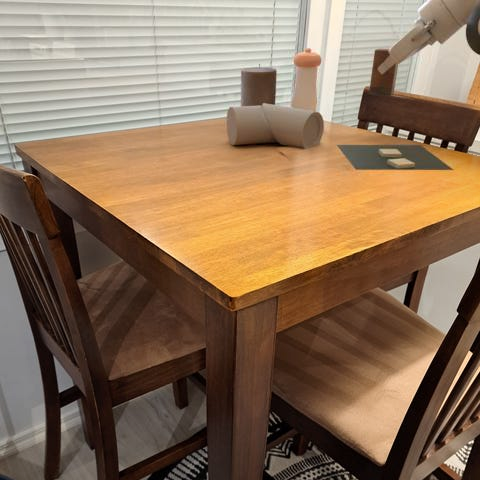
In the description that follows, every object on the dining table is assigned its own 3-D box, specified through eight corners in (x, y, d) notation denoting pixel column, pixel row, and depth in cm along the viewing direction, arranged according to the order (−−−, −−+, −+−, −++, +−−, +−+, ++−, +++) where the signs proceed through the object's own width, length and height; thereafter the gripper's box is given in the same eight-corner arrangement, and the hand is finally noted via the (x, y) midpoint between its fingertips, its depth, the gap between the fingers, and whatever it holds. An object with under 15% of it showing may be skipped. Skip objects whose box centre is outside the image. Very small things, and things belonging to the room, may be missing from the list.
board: (419, 149, 117) (420, 145, 117) (452, 174, 100) (454, 169, 100) (336, 149, 117) (336, 144, 116) (355, 174, 100) (355, 169, 99)
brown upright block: (393, 93, 116) (400, 49, 111) (390, 95, 112) (397, 50, 108) (372, 91, 117) (378, 48, 112) (368, 94, 114) (374, 49, 109)
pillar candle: (280, 122, 141) (283, 63, 133) (263, 128, 134) (265, 66, 126) (251, 118, 145) (252, 61, 137) (233, 124, 138) (233, 64, 130)
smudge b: (403, 162, 104) (404, 158, 104) (414, 167, 101) (415, 163, 101) (386, 163, 103) (387, 159, 103) (397, 168, 100) (398, 164, 100)
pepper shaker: (304, 124, 139) (310, 46, 129) (321, 129, 134) (329, 48, 123) (283, 127, 136) (288, 47, 125) (300, 132, 131) (306, 50, 120)
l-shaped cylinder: (298, 128, 128) (224, 133, 123) (305, 86, 121) (226, 89, 116) (325, 161, 117) (245, 168, 112) (335, 117, 109) (249, 121, 104)
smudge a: (395, 152, 111) (396, 149, 110) (401, 157, 107) (402, 153, 107) (378, 152, 110) (378, 148, 110) (383, 157, 107) (383, 153, 107)
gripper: (440, 36, 96) (381, 87, 105) (449, 31, 112) (397, 76, 121) (421, 8, 95) (364, 63, 104) (433, 7, 111) (381, 54, 120)
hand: (382, 70), depth 112 cm, fingers closed on brown upright block, 4 cm apart
